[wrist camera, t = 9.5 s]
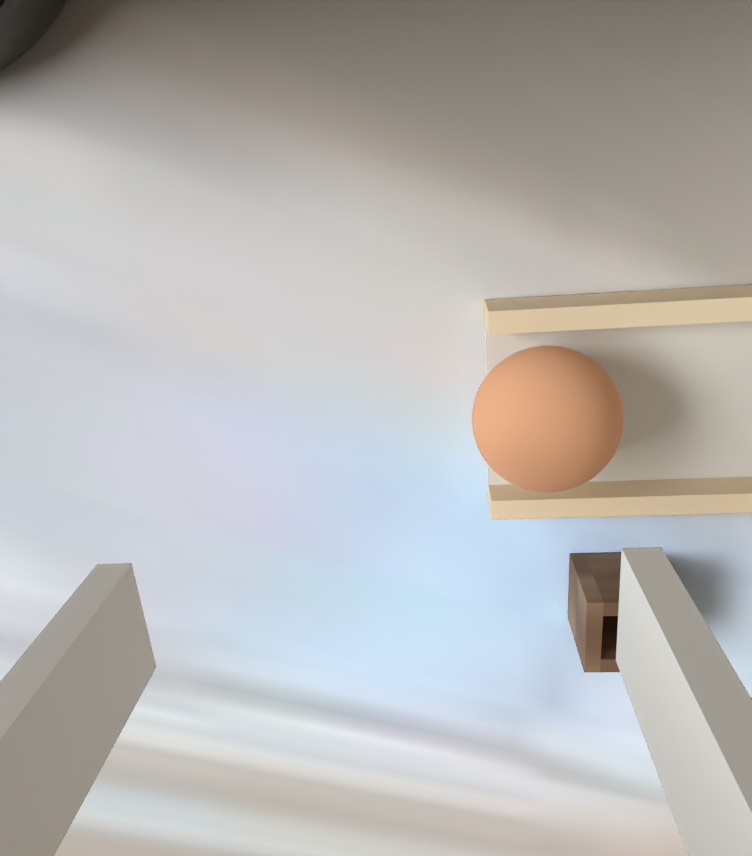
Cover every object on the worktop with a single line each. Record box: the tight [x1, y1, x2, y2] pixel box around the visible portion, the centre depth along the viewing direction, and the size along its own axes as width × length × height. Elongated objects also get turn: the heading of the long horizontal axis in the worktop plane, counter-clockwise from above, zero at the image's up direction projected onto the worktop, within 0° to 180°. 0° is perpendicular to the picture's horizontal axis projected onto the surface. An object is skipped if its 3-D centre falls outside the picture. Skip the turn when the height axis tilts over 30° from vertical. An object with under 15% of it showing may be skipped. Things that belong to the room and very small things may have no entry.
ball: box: [472, 346, 624, 493], centre depth 24 cm, size 5×5×5 cm
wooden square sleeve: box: [568, 553, 621, 672], centre depth 28 cm, size 3×3×4 cm
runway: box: [484, 284, 752, 520], centre depth 25 cm, size 8×12×2 cm, turn 94°
